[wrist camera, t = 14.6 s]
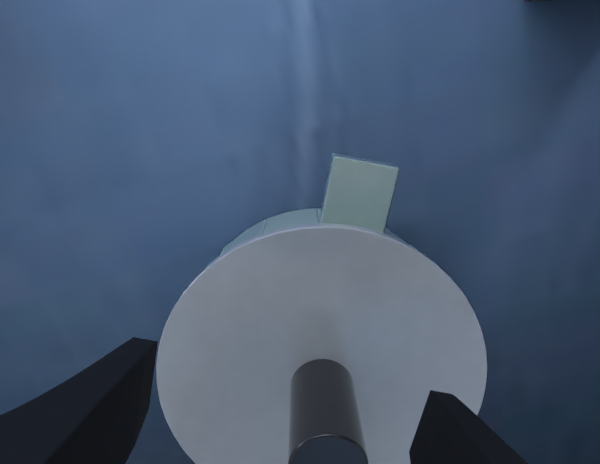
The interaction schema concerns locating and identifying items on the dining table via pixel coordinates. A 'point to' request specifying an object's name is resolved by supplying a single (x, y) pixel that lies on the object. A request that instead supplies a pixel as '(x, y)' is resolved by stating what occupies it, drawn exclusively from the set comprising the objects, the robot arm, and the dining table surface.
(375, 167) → the grey-green ring with tabs
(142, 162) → the dining table surface
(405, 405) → the lid
